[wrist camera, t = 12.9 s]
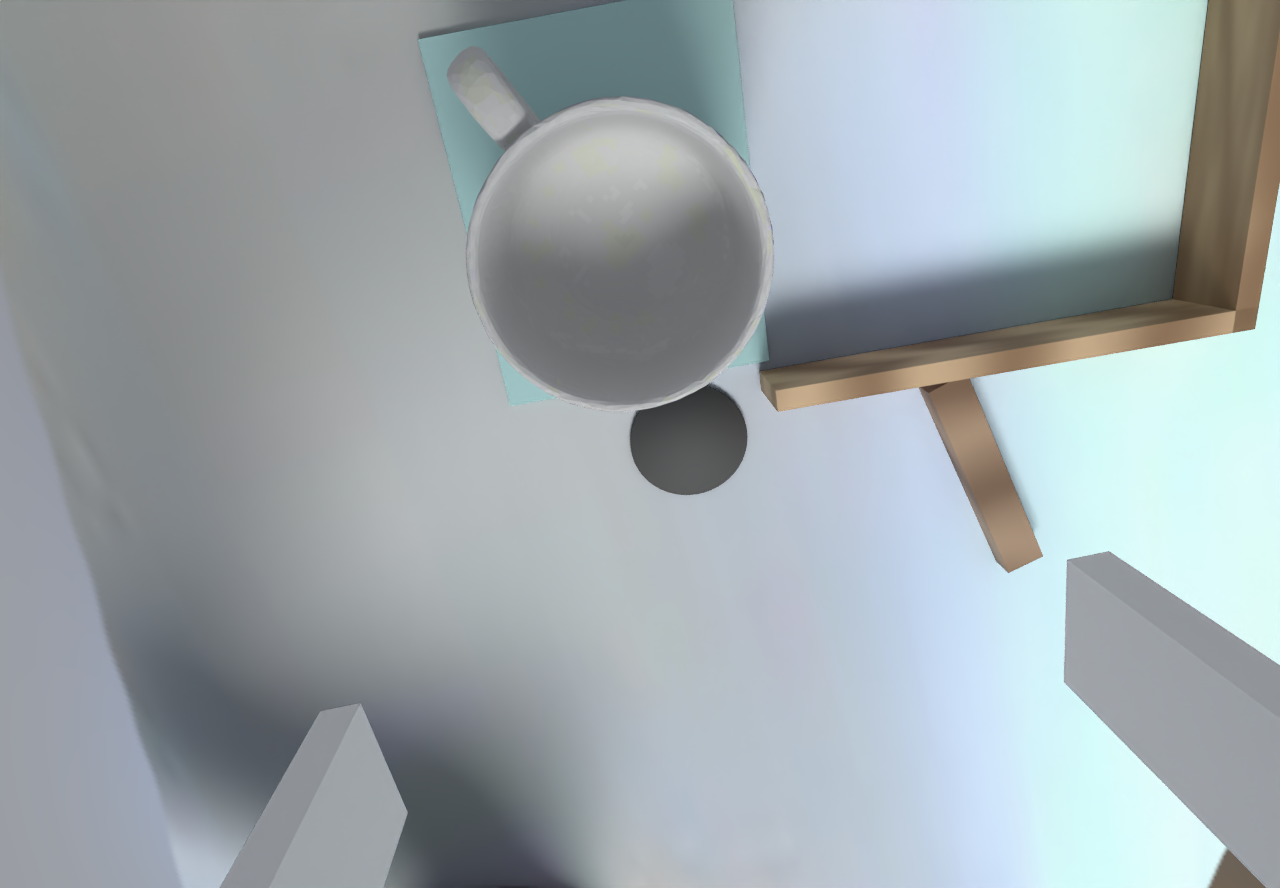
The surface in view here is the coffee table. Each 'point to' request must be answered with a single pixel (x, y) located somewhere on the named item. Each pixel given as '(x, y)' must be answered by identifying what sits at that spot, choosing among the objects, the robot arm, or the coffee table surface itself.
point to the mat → (595, 89)
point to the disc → (689, 442)
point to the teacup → (612, 244)
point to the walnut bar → (982, 472)
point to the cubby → (1207, 256)
